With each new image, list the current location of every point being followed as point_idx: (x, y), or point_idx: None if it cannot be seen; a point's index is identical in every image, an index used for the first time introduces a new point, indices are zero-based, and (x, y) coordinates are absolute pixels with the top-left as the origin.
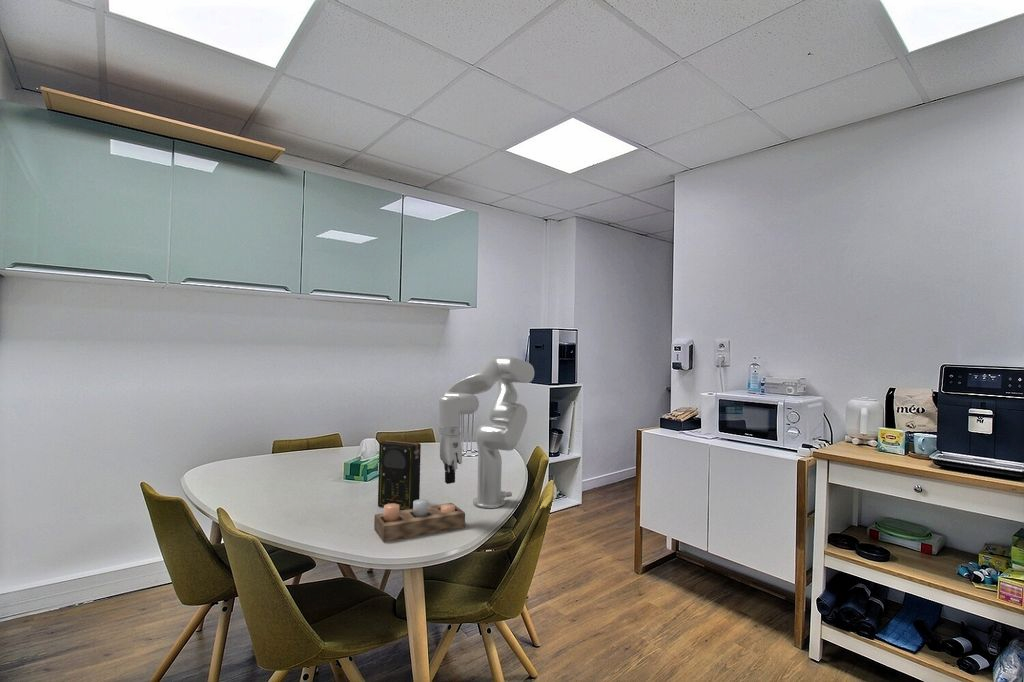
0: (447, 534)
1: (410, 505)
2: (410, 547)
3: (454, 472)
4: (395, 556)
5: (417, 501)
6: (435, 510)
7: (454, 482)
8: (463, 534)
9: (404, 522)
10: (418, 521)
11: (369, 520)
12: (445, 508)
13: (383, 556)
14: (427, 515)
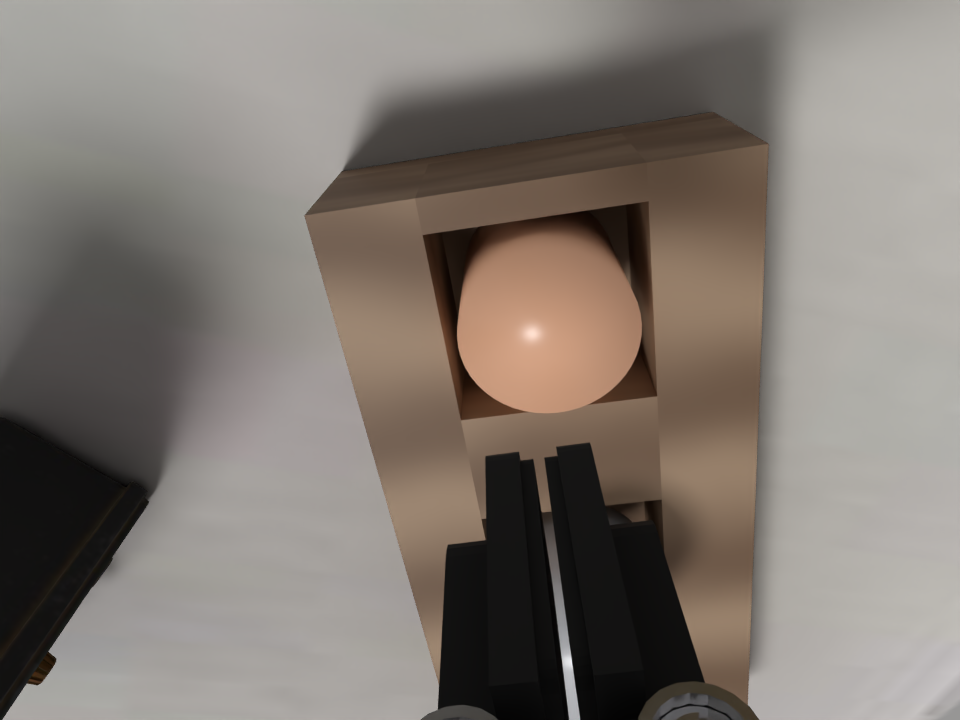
0: (797, 317)
1: (129, 531)
2: (881, 583)
3: (639, 652)
4: (957, 662)
5: (574, 698)
6: (538, 446)
7: (587, 446)
8: (881, 178)
9: (736, 693)
10: (747, 605)
11: (302, 715)
12: (613, 377)
13: (913, 705)
14: (615, 518)
